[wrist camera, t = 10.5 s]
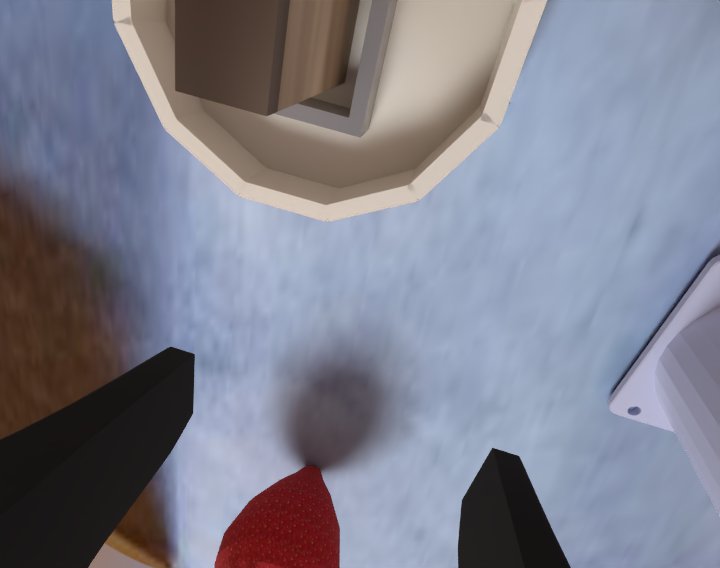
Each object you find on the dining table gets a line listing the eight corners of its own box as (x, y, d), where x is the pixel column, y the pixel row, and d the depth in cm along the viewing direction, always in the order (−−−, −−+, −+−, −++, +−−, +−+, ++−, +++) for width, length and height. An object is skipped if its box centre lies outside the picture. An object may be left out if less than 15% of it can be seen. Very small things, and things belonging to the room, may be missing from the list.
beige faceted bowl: (610, -206, 11) (645, -262, 9) (452, 230, 17) (450, 258, 15) (155, -307, 12) (86, -382, 10) (162, 147, 18) (122, 162, 16)
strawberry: (248, 481, 28) (155, 675, 20) (284, 408, 24) (188, 612, 16) (332, 519, 28) (276, 728, 20) (381, 454, 25) (337, 679, 16)
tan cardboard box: (372, -64, 13) (293, -146, 7) (344, 82, 15) (266, 116, 9) (306, -81, 13) (174, -174, 7) (288, 67, 15) (175, 90, 9)
